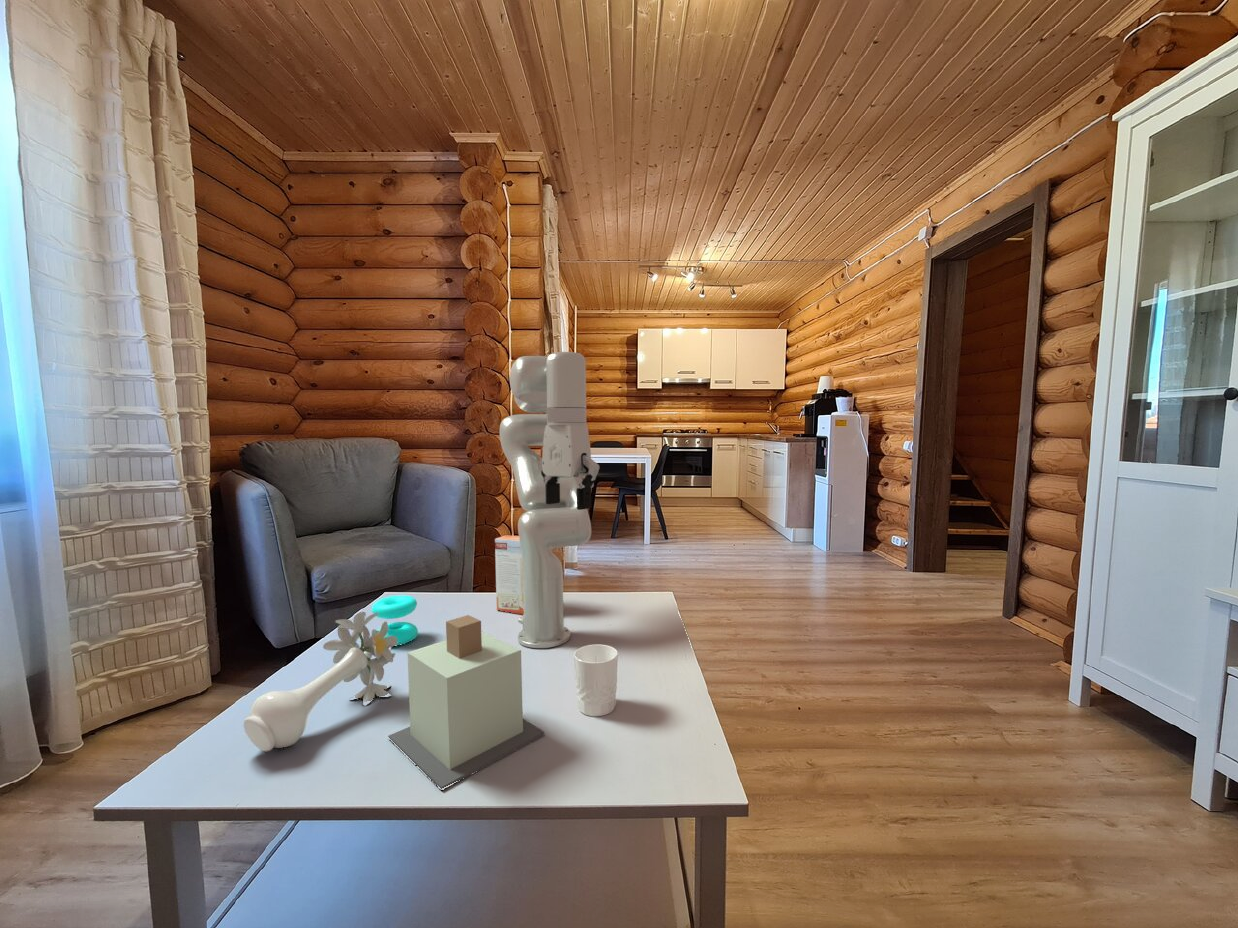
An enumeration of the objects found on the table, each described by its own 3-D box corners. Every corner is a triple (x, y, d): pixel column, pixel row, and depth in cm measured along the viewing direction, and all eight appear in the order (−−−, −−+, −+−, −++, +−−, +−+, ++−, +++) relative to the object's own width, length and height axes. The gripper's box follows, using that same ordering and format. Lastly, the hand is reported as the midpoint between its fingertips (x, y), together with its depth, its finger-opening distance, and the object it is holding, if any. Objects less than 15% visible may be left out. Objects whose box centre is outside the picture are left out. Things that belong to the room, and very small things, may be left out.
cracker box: (549, 610, 144) (548, 537, 142) (537, 618, 138) (535, 541, 137) (509, 604, 150) (507, 533, 148) (495, 611, 144) (493, 537, 143)
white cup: (613, 720, 88) (612, 664, 88) (569, 716, 90) (568, 660, 89) (622, 697, 96) (621, 645, 95) (581, 693, 98) (580, 642, 97)
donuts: (413, 591, 130) (419, 602, 122) (414, 629, 131) (421, 643, 122) (369, 598, 125) (373, 609, 117) (371, 638, 126) (375, 652, 117)
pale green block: (410, 734, 84) (406, 622, 83) (480, 703, 93) (477, 602, 92) (449, 769, 75) (445, 644, 74) (523, 731, 84) (520, 619, 83)
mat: (388, 739, 84) (388, 735, 84) (485, 697, 97) (485, 694, 97) (441, 791, 71) (441, 787, 71) (544, 735, 84) (544, 731, 84)
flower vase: (295, 797, 80) (413, 687, 102) (272, 708, 73) (404, 610, 95) (240, 763, 85) (365, 665, 106) (214, 677, 78) (353, 591, 100)
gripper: (525, 418, 102) (526, 503, 103) (580, 417, 90) (581, 513, 91) (555, 418, 107) (556, 499, 108) (611, 417, 95) (612, 508, 96)
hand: (568, 506), depth 100 cm, fingers open, 9 cm apart
